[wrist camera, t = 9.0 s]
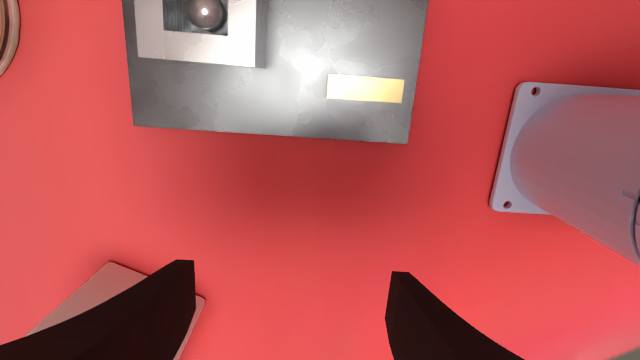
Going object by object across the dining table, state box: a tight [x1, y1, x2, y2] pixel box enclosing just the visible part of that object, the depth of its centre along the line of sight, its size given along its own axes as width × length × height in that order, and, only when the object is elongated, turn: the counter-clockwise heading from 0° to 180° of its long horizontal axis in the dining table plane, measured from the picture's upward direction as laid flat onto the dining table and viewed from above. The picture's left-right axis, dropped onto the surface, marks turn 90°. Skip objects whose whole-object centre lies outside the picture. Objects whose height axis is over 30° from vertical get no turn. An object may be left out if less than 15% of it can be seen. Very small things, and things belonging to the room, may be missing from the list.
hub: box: [134, 0, 268, 69], centre depth 16 cm, size 5×5×4 cm
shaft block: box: [122, 0, 429, 144], centre depth 17 cm, size 16×12×4 cm
